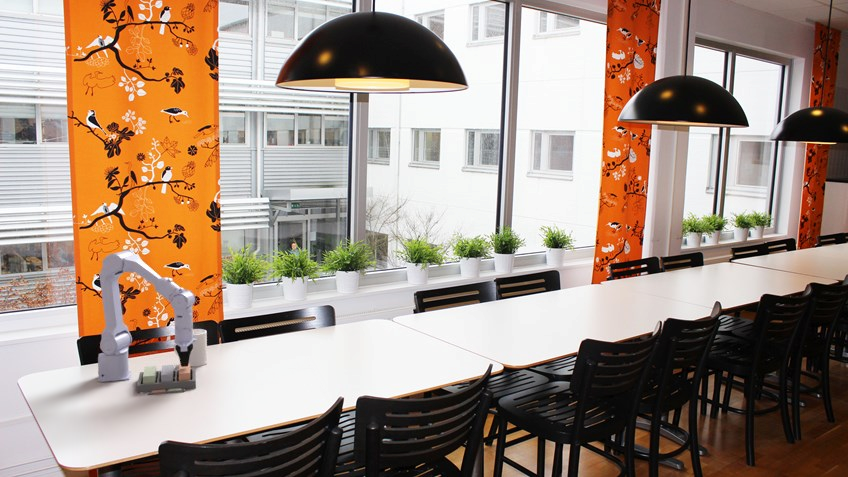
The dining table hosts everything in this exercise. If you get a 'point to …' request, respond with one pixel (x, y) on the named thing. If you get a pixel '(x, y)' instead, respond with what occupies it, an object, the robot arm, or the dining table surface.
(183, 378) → the key terracotta
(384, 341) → the dining table surface
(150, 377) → the key sage
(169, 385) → the keypad frame
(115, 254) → the robot arm
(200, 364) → the mug
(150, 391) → the strip
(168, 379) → the key slate
